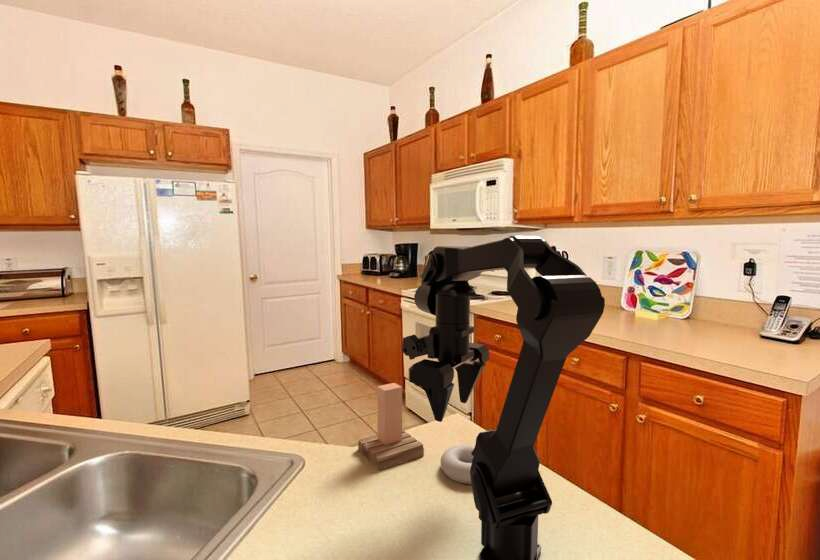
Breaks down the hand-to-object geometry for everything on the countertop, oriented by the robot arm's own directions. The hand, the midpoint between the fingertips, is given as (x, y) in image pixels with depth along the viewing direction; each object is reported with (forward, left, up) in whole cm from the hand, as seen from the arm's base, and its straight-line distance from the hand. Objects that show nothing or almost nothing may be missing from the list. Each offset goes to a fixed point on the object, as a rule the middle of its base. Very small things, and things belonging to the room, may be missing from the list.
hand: (451, 411), depth 68 cm
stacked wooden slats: (+15, -3, -13) cm, 20 cm away
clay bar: (+16, -4, -11) cm, 20 cm away
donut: (-1, -5, -14) cm, 15 cm away
